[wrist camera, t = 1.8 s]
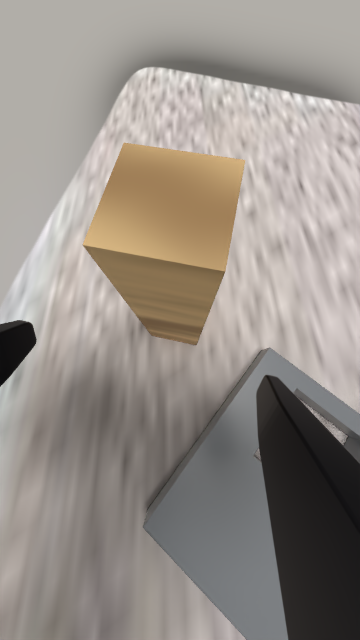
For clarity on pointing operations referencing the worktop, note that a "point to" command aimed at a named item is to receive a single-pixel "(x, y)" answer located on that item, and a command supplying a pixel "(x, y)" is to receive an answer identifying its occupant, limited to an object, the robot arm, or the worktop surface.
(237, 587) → the socket board
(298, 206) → the worktop surface
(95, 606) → the worktop surface
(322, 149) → the worktop surface
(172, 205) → the pin
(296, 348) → the worktop surface
